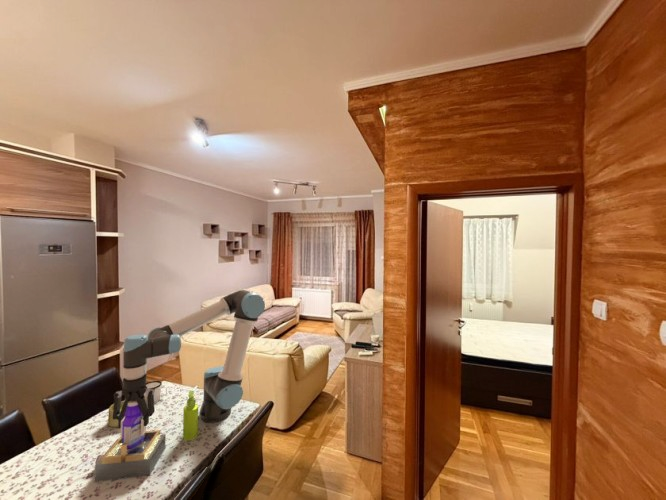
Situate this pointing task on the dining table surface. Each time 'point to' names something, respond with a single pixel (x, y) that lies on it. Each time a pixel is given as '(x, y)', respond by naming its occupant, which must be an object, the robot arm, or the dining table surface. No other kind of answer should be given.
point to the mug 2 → (157, 387)
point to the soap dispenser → (190, 419)
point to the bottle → (132, 425)
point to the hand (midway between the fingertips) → (133, 434)
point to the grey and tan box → (130, 458)
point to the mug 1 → (112, 421)
